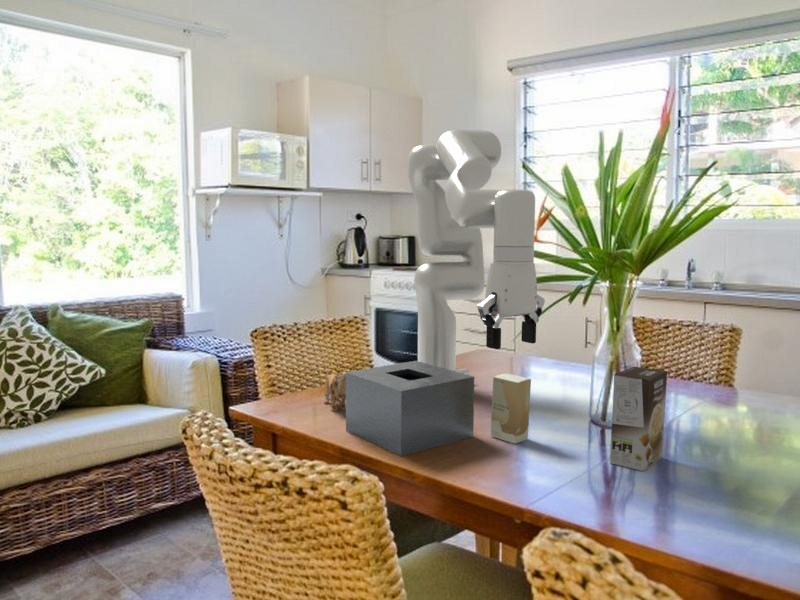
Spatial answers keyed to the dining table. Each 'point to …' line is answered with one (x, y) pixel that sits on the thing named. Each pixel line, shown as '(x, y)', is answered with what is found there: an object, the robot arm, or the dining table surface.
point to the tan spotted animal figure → (336, 389)
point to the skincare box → (510, 407)
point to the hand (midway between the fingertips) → (511, 345)
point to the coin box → (409, 406)
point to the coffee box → (638, 417)
